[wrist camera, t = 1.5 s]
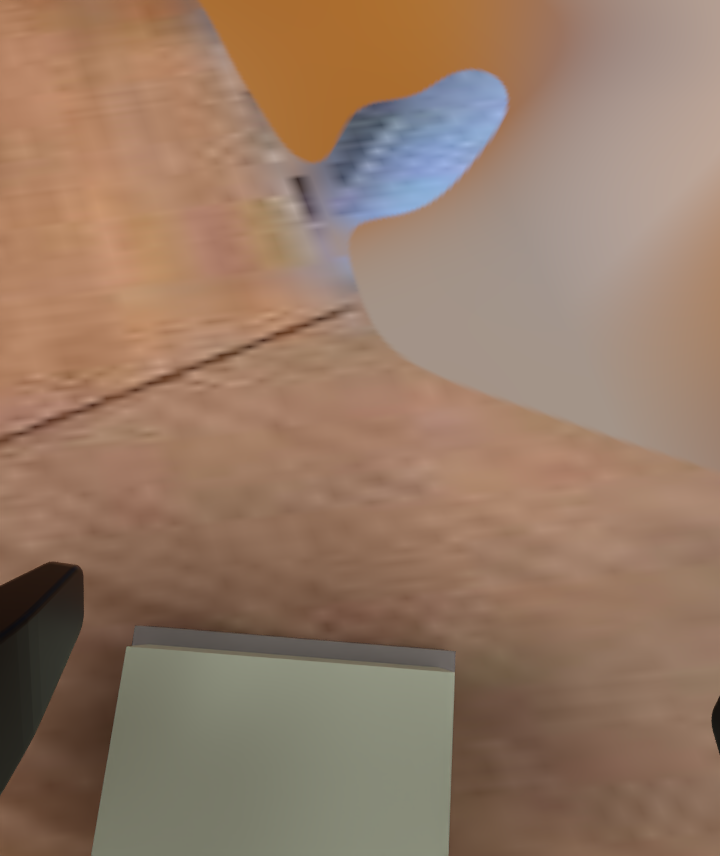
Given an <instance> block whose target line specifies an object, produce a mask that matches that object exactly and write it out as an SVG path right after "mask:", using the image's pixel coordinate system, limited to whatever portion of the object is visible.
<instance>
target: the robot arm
mask: <svg viewBox="0 0 720 856" xmlns="http://www.w3.org/2000/svg"><path fill="white" fill-rule="evenodd" d="M83 617H84V584H83V572H82V569H81V568H80V567H79V566H78V565H73V564H67V563H60V562H48V563H46V564H43V565H41V566H39V567H37V568H35V569H33V570H31V571H29V572H27V573H25V574H23V575H21V576H19V577H17V578H15V579H13V580H11V581H9V582H7V583H5V584H3V585H1V586H0V795H1V793H2V792H3V790H4V788H5V786H6V785H7V783H8V781H9V779H10V778H11V776H12V774H13V772H14V771H15V769H16V767H17V766H18V764H19V762H20V760H21V759H22V757H23V755H24V753H25V751H26V750H27V748H28V746H29V744H30V742H31V740H32V738H33V737H34V735H35V732H36V730H37V728H38V726H39V724H40V722H41V720H42V717H43V715H44V713H45V711H46V708H47V706H48V704H49V701H50V699H51V697H52V695H53V692H54V690H55V688H56V685H57V683H58V681H59V679H60V676H61V674H62V672H63V669H64V667H65V665H66V663H67V660H68V658H69V656H70V654H71V651H72V649H73V647H74V644H75V642H76V640H77V638H78V635H79V633H80V630H81V627H82V623H83ZM712 729H713V733H714V736H715V740H716V743H717V747H718V750H719V754H720V696H719V698H718V700H717V703H716V705H715V707H714V709H713V712H712Z"/></svg>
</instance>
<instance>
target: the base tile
mask: <svg viewBox="0 0 720 856" xmlns="http://www.w3.org/2000/svg"><path fill="white" fill-rule="evenodd" d="M146 644H152V645H164V646H177V647H189V648H202V649H215V650H227V651H240V652H252V653H265V654H277V655H290V656H302V657H315V658H327V659H340V660H352V661H365V662H377V663H390V664H403V665H415V666H428V667H439V668H442V669H445V670H448V671H452V672H455V653H456V651H449V650H442V649H429V648H417V647H404V646H392V645H380V644H367V643H355V642H342V641H330V640H318V639H305V638H293V637H281V636H268V635H256V634H243V633H231V632H219V631H206V630H194V629H182V628H169V627H157V626H135V629H134V635H133V641H132V646H136V645H146ZM452 740H453V739H452ZM451 768H452V767H451ZM450 797H451V796H450ZM449 826H450V824H449ZM448 855H449V853H448Z"/></svg>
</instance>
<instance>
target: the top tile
mask: <svg viewBox="0 0 720 856" xmlns="http://www.w3.org/2000/svg"><path fill="white" fill-rule="evenodd" d="M454 682H455V672H452V671H448V670H445V669H442V668H439V667H428V666H415V665H403V664H390V663H377V662H365V661H352V660H340V659H327V658H315V657H302V656H290V655H277V654H265V653H252V652H240V651H227V650H215V649H202V648H189V647H177V646H164V645H152V644H146V645H136V646H127V647H126V652H125V658H124V664H123V670H122V676H121V682H120V688H119V694H118V700H117V706H116V711H115V717H114V723H113V729H112V735H111V741H110V747H109V753H108V759H107V764H106V770H105V776H104V782H103V788H102V794H101V800H100V806H99V812H98V818H97V823H96V829H95V835H94V841H93V847H92V853H91V856H448V853H449V824H450V796H451V767H452V739H453V711H454Z"/></svg>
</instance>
